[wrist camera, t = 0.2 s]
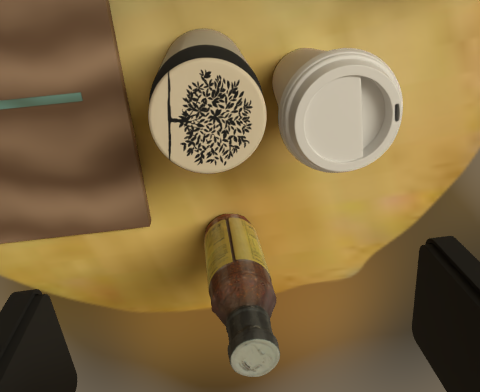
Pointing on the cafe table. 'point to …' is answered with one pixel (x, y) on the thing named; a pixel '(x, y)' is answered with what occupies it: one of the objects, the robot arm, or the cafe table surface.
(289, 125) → the coffee cup
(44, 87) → the jamb plate
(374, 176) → the cafe table surface
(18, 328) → the robot arm
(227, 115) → the travel mug
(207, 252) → the sauce bottle
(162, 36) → the cafe table surface
